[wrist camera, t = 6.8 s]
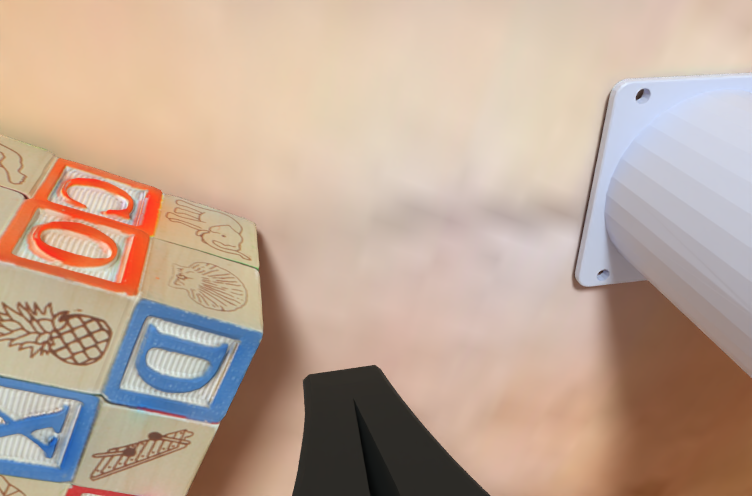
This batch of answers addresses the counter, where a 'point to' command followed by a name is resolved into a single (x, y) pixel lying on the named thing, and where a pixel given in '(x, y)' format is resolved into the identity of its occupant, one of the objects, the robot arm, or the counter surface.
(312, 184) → the counter surface
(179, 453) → the stack of blocks
